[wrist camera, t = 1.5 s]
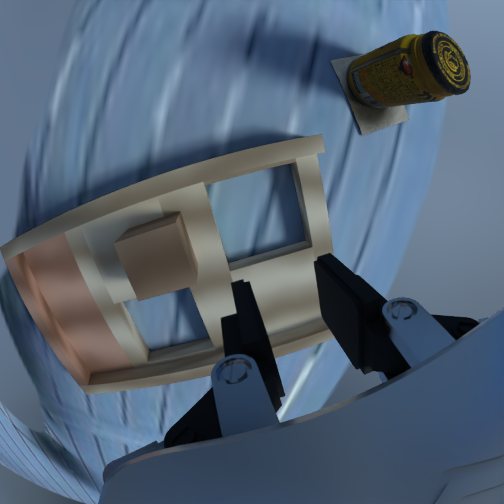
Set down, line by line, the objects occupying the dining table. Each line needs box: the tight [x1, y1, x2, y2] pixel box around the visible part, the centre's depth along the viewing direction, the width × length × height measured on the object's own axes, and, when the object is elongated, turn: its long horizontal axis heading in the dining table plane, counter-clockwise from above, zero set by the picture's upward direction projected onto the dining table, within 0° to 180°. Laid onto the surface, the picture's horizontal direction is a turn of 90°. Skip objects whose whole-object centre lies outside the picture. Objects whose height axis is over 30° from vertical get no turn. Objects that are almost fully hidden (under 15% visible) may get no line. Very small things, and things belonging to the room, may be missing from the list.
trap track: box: [0, 134, 335, 394], centre depth 24 cm, size 20×32×4 cm, turn 104°
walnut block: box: [114, 211, 198, 301], centre depth 21 cm, size 5×5×4 cm
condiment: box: [330, 31, 470, 136], centre depth 17 cm, size 7×8×12 cm
